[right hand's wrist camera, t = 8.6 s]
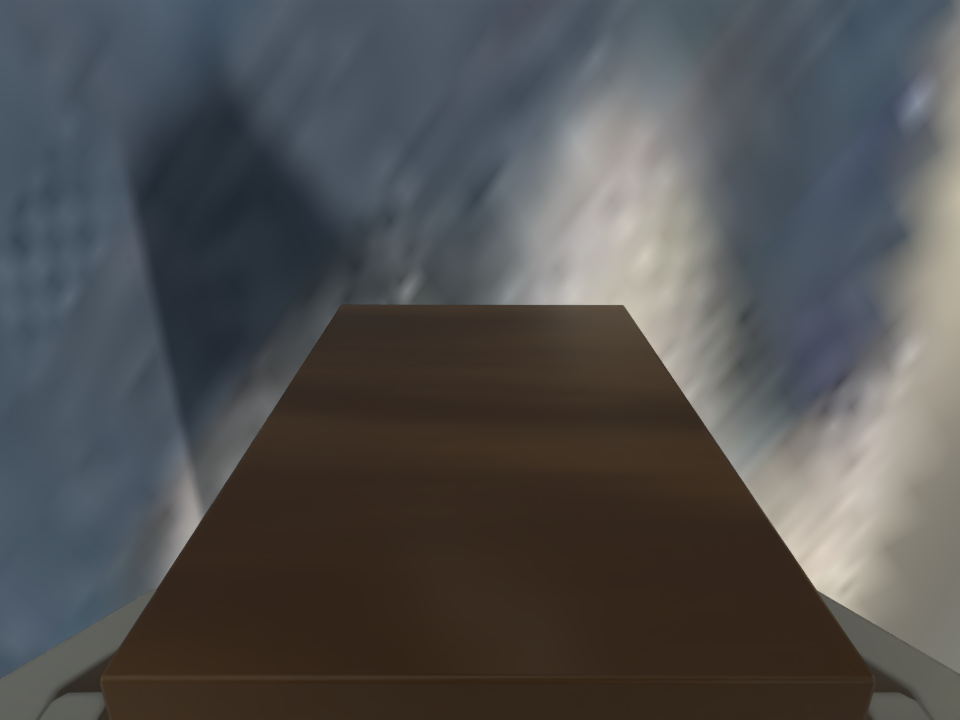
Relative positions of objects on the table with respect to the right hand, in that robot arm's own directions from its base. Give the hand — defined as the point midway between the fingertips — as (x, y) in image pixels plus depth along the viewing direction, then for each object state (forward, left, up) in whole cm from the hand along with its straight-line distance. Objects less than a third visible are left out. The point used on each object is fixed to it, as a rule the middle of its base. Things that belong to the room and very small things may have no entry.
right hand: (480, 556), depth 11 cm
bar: (+8, 0, -4) cm, 9 cm away
